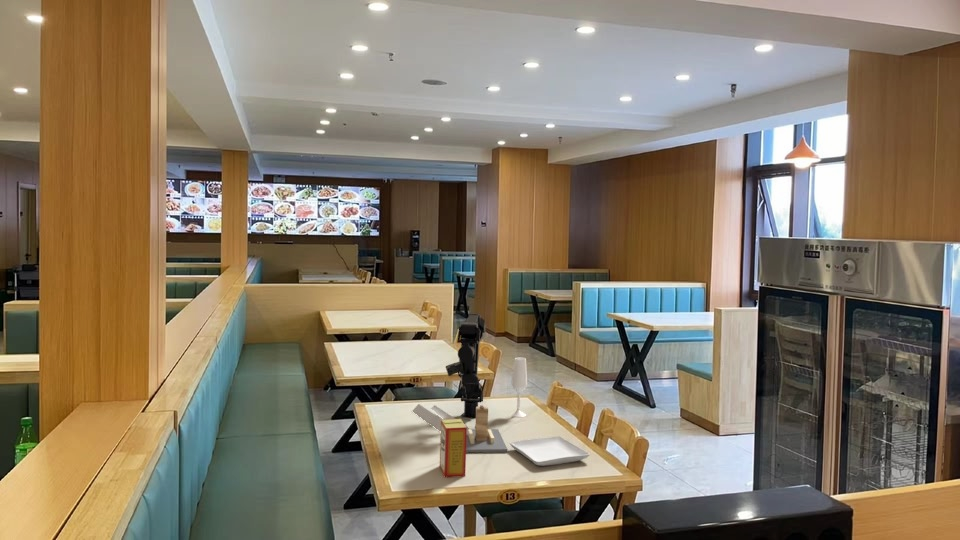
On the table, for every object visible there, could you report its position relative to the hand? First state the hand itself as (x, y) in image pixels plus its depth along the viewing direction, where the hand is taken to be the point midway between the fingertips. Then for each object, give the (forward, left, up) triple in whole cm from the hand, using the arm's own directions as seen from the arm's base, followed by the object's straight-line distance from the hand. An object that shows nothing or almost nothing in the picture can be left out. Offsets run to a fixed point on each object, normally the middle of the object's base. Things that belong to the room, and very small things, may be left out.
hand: (466, 396), depth 249 cm
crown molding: (-6, -14, -14) cm, 20 cm away
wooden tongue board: (+12, +10, -12) cm, 20 cm away
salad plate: (+16, +36, -14) cm, 42 cm away
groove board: (+12, +10, -13) cm, 20 cm away
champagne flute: (-27, +14, -13) cm, 33 cm away
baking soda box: (+42, +10, -13) cm, 45 cm away
